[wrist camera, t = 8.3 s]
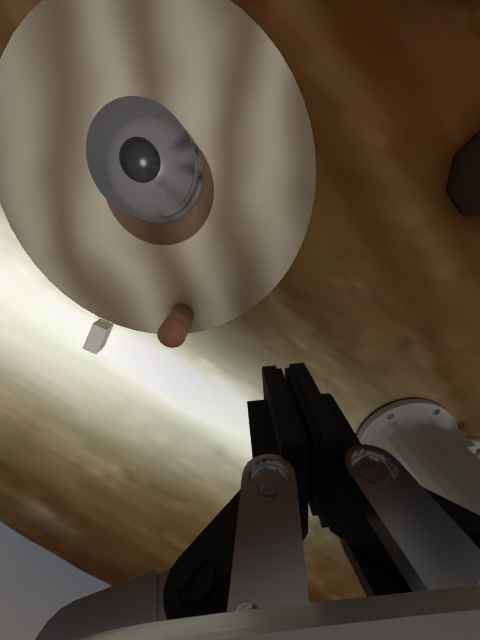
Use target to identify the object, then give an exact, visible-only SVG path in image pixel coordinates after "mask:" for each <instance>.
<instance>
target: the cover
mask: <svg viewBox="0 0 480 640" xmlns="http://www.w3.org/2000/svg"><path fill="white" fill-rule="evenodd" d="M86 159H87V164H88V168H89V171H90V174H91V176H92V179H93V181H94V183H95V184H96V186H97V188H98V189H99V191H100V192H101V193H102V195H103V196H104V197H105V198H106V199H107V200H108V201H109V202H110V203H111V204H112V205H113V206H115V207H116V208H118V209H119V210H121V211H123V212H125V213H127V214H130V215H132V216H136V217H137V218H139V219H142V220H145V221H148V222H154V223H168V222H172V221H176V220H178V219H180V218H182V217H184V216H185V215H186V214H188V213H189V212H190V211H191V210H192V209H193V207H194V206H195V205H196V203H197V201H198V200H199V197H200V195H201V192H202V189H203V183H204V168H203V162H202V158H201V155H200V152H199V150H198V148H197V145H196V143H195V142H194V140H193V138H192V137H191V135H190V134H189V133H188V131H187V130H186V129H185V128H184V127H183V126H182V124H181V123H180V122H179V120H178V119H177V118H176V117H175V116H174V115H173V114H172V112H170V111H169V110H168V109H167V108H166V107H164V106H163V105H161V104H160V103H158V102H156V101H154V100H151V99H149V98H145V97H141V96H125V97H120V98H117V99H115V100H113V101H111V102H109V103H107V104H106V105H105V106H104V107H102V108H101V109H100V111H99V112H98V113H97V114H96V116H95V117H94V119H93V120H92V122H91V125H90V127H89V130H88V134H87V139H86Z"/></svg>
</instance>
